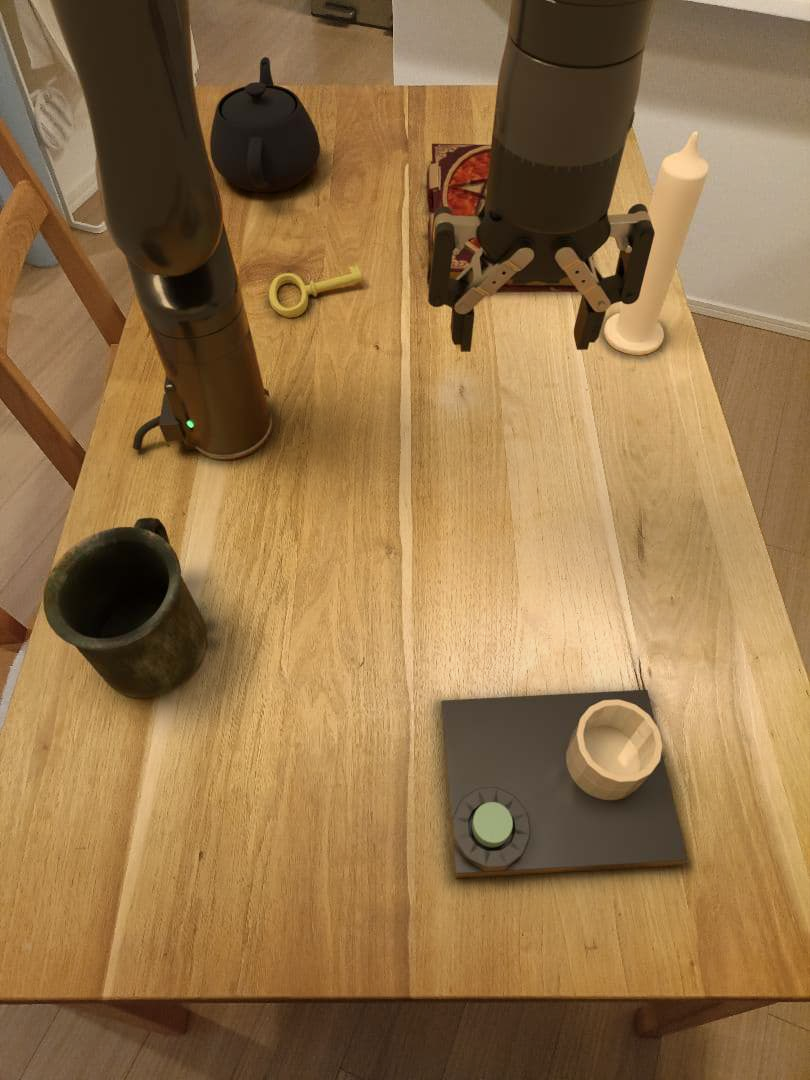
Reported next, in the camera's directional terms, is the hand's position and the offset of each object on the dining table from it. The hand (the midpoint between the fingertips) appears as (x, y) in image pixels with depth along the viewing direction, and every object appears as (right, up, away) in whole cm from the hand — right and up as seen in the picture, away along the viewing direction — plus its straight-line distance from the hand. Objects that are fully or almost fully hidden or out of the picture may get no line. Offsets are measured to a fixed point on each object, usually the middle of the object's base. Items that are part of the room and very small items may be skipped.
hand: (521, 343), depth 57 cm
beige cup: (+8, -33, +7) cm, 34 cm away
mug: (-32, -23, +16) cm, 43 cm away
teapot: (-29, +40, +57) cm, 76 cm away
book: (+5, +29, +49) cm, 57 cm away
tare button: (-2, -37, +3) cm, 37 cm away
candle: (+19, +10, +37) cm, 43 cm away
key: (-20, +17, +42) cm, 49 cm away
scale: (+4, -35, +8) cm, 36 cm away
